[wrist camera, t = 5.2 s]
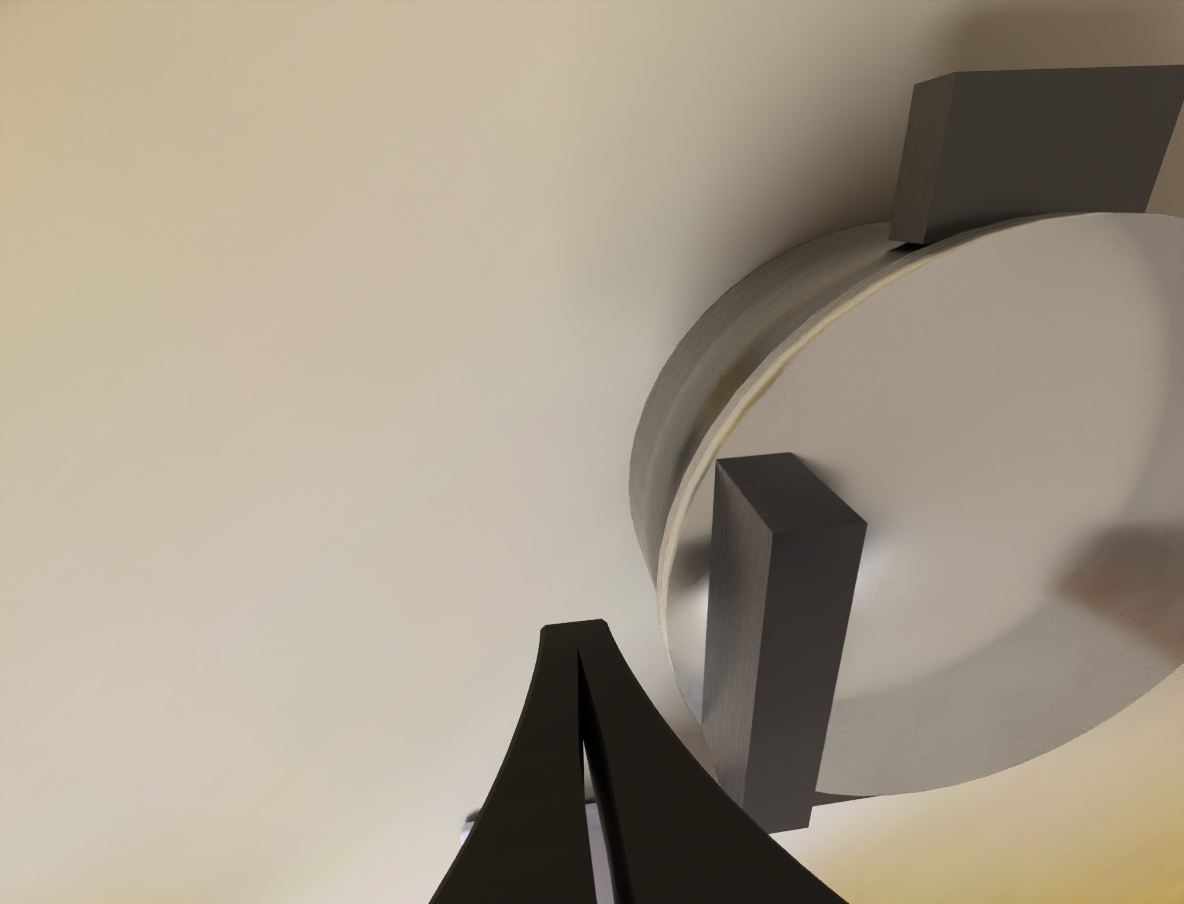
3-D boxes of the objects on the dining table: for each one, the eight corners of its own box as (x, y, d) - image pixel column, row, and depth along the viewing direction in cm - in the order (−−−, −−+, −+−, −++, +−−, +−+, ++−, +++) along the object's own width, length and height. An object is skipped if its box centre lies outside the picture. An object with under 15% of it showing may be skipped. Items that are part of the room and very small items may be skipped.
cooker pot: (983, 664, 25) (1088, 768, 20) (633, 712, 23) (661, 836, 19) (1178, 98, 15) (1451, 54, 11) (621, 118, 14) (670, 78, 9)
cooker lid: (1129, 727, 19) (1266, 844, 15) (655, 799, 17) (689, 948, 14) (1414, 191, 12) (1784, 187, 8) (658, 235, 10) (727, 250, 7)
